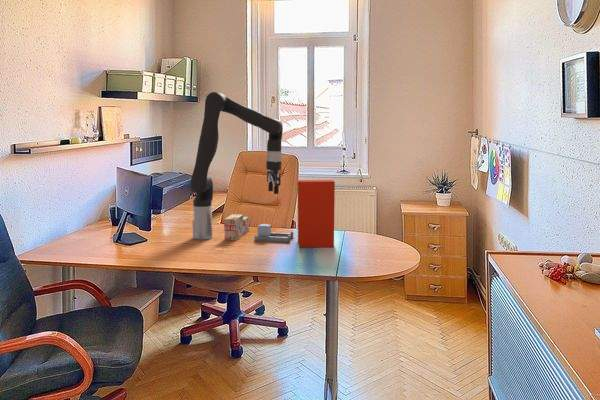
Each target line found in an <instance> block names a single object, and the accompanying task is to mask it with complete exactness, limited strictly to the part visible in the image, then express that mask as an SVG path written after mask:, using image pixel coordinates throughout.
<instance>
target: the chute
mask: <svg viewBox="0 0 600 400" xmlns="http://www.w3.org/2000/svg"><path fill="white" fill-rule="evenodd" d="M291 239H292V240H293V239H294V231H293V230H291V231H290V233H289V232H288V233H287V232H271V236H258V235H254V240H253V241H254V242H267V243H268V242H269V243H287V244H288V243H291Z"/></svg>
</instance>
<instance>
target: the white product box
mask: <svg viewBox="0 0 600 400" xmlns="http://www.w3.org/2000/svg"><path fill="white" fill-rule="evenodd" d="M223 221H224V223H223V225H224V226H223V227H224V228H223V229H224V241H238V240H239V239H241V238H242V237H243V236H245V235H246V234H247V233H249V231H250V229H249V224H250V223H249V216H244V214H240V213H239V214H235V213H234V214H233V213H232V214H230V215H229V216H227V217H225V218H224V219H223Z"/></svg>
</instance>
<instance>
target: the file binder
mask: <svg viewBox="0 0 600 400" xmlns="http://www.w3.org/2000/svg"><path fill="white" fill-rule="evenodd" d="M335 183H336V182H335V180H334V179H305V180H304V179H297V245H298V247H299V248H335V204H336V203H335V200H336V199H335V196H336V195H335V194H336V193H335V190H336V188H335V187H336V186H335V185H336V184H335Z"/></svg>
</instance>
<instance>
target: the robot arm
mask: <svg viewBox="0 0 600 400" xmlns="http://www.w3.org/2000/svg"><path fill="white" fill-rule="evenodd" d="M221 112H224V113H227V114H229V115H233V116H234V117H236V118H238V119H240V120H241V121H243V122H244V123H247V124H250V125H251V126H254V127H257V128H259V129H261V130H262V131H265V132H266V133H268V140H267V143H266V145H267V146H266V157H265V158H266V159H265V160H266V161H265V162H266V163H265V164H266V165H265V167H266V168H265V169H266V182H267V184H268V185H267V186H268V187H267V190H268V192H273V194H274V195H278V194H279V187H280V186H281V173H279V171H280V170H282V158H283V157H282V139H283V130H284V129H283V127H284V126H283V123H282V121H280V120H279V119H274V118H271V117H269V116H267V115H265V114H263V113H262V112H259V111H257V110H255V109H253V108H249V107H248V106H245V105H242V104H240V103H238V102H236V101H234V100H233V99H231V98H229V97H228V96H226V95H225V94H223V93H222V92H218V91H212V92H210V93H208V94H207V95H206V98H205V102H204V113H203V115H204V116H203V122H202V126H201V130H200V134H199V135H200V136H199V141H198V145H197V153H196V158H195V163H194V168H193V171H192V175H191V178H190V184H189V185H190V189H191V191H192V192H193V193H195V197H194V199H193V201H192V202H193V205H192V207H193V220H192V239H194V240H198V241H204V240H211V239H213V211H212V210H213V207H212V204H213V203H212V202H213V198H214V197H213V196H214V194H213V193H214V184H213V179H212V177H211V176H210V175H209V174H208V172H209V168H210V165H211V163H212V162H213V159H214V158H215V155H216V153H217V149H218V143H219V138H220V137H219V135H220V134H219V119H220V114H221Z"/></svg>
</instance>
